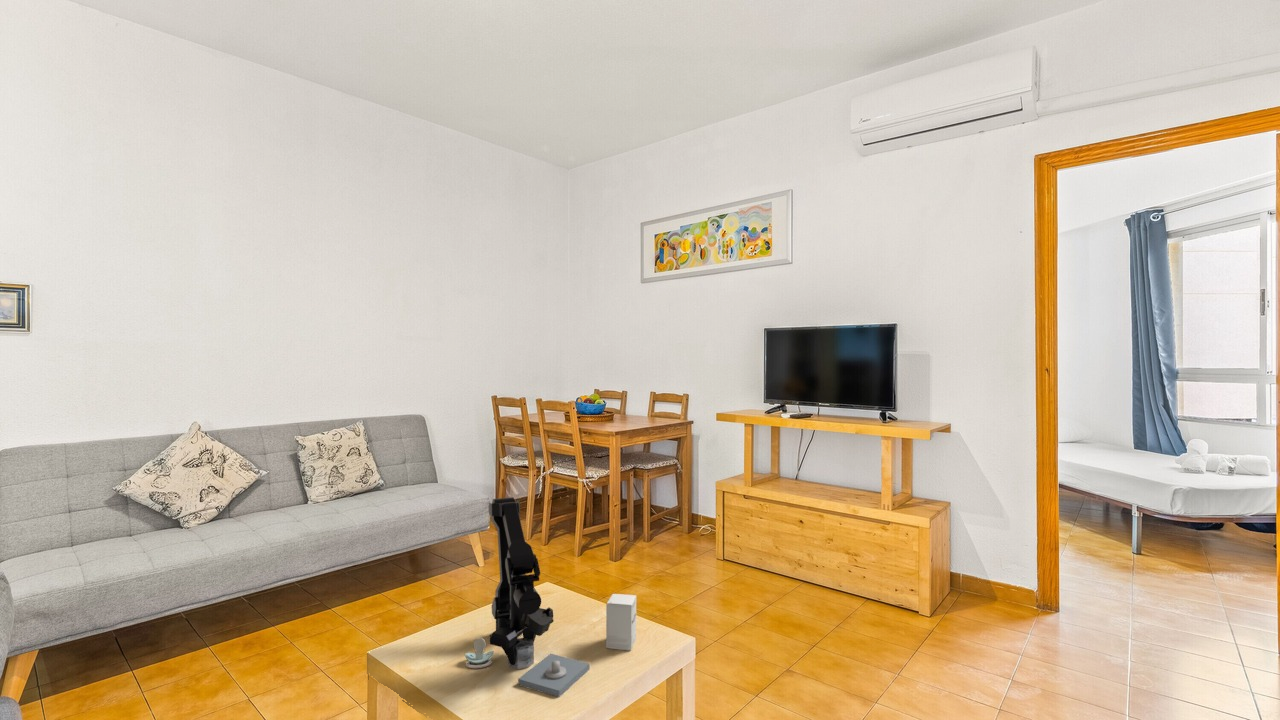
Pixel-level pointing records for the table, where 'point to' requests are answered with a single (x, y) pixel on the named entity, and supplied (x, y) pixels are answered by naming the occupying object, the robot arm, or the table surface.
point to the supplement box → (621, 621)
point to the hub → (524, 654)
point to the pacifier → (479, 655)
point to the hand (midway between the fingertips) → (520, 658)
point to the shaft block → (554, 674)
